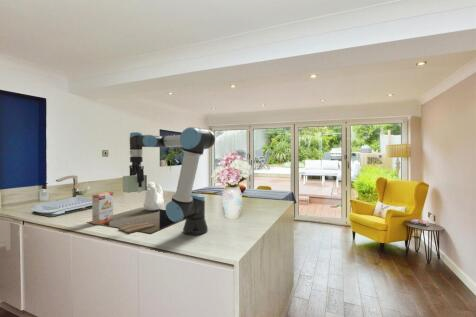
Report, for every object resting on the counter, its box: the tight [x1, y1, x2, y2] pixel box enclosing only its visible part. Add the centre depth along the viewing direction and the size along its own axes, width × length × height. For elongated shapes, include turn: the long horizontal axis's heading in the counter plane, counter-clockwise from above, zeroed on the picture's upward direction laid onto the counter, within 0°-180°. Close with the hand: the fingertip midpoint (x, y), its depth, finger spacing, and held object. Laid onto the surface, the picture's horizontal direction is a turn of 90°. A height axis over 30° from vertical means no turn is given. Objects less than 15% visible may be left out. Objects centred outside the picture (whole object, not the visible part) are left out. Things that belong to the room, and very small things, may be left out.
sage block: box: [122, 174, 148, 194], centre depth 156 cm, size 6×10×13 cm
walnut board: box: [118, 221, 156, 235], centre depth 158 cm, size 13×18×1 cm
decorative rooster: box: [143, 181, 165, 211], centre depth 211 cm, size 25×16×25 cm, turn 159°
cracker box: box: [91, 191, 114, 226], centre depth 172 cm, size 14×6×21 cm, turn 168°
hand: (136, 191), depth 157 cm, fingers closed on sage block, 6 cm apart
